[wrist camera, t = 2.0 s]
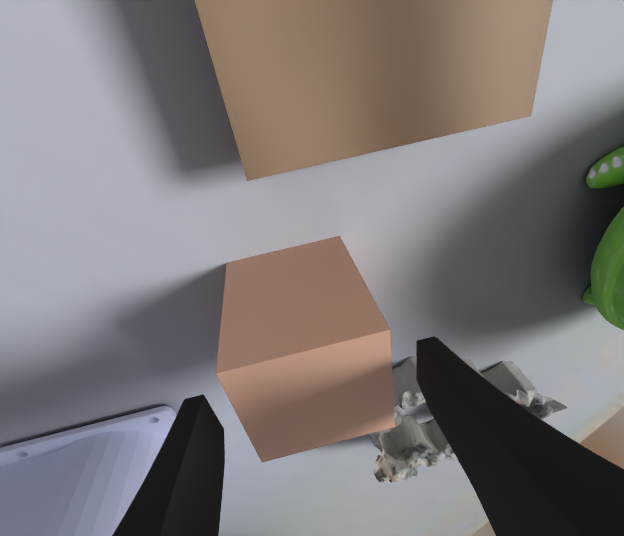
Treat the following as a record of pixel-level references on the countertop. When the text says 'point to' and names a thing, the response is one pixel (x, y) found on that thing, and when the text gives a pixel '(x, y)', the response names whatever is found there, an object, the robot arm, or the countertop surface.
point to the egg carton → (428, 436)
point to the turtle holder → (608, 246)
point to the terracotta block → (304, 350)
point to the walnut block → (368, 72)
